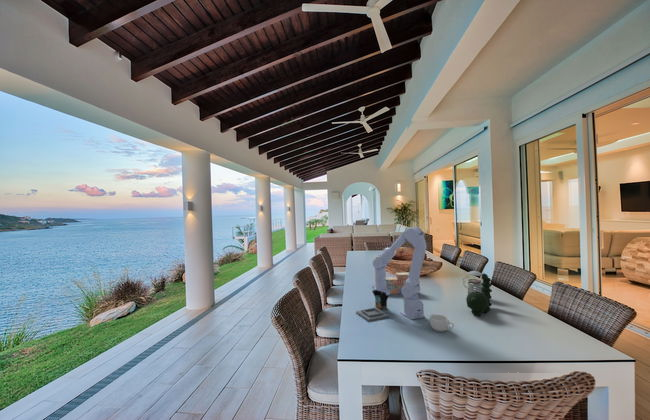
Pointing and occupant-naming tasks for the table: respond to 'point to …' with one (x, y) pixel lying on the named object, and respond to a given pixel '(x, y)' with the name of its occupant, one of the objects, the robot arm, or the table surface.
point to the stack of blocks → (396, 282)
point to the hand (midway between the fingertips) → (381, 304)
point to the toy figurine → (480, 298)
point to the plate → (372, 314)
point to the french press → (474, 280)
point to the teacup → (440, 322)
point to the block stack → (379, 303)
